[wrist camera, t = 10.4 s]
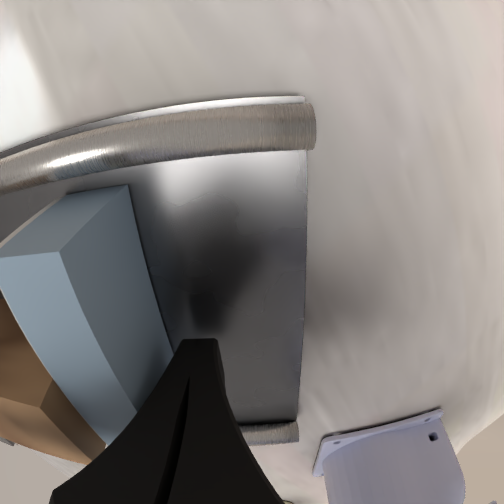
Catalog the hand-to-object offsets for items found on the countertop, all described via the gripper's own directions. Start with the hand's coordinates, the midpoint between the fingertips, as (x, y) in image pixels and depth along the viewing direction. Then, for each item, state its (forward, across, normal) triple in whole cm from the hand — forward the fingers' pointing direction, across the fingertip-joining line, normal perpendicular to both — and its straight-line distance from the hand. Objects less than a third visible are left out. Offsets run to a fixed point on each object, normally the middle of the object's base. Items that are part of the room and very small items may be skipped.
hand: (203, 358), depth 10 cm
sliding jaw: (+1, +3, 0) cm, 3 cm away
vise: (+2, +6, 0) cm, 7 cm away
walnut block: (+1, +8, 0) cm, 8 cm away
